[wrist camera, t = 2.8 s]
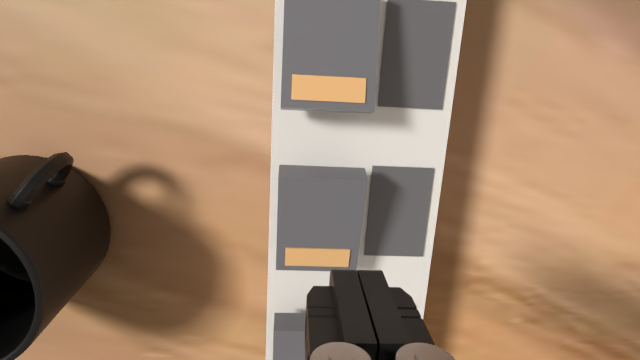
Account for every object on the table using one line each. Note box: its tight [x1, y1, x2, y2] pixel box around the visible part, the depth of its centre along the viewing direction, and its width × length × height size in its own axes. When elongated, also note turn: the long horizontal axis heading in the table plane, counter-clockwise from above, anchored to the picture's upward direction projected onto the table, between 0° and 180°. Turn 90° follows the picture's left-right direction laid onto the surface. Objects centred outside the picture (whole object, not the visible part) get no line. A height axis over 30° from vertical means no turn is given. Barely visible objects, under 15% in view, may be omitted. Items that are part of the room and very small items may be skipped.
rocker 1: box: [273, 313, 306, 360], centre depth 28 cm, size 6×5×2 cm
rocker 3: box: [276, 165, 368, 271], centre depth 25 cm, size 6×5×2 cm
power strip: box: [266, 0, 467, 360], centre depth 29 cm, size 30×10×4 cm, turn 177°
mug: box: [0, 152, 110, 360], centre depth 26 cm, size 9×12×9 cm
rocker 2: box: [281, 0, 380, 114], centre depth 23 cm, size 6×5×2 cm
